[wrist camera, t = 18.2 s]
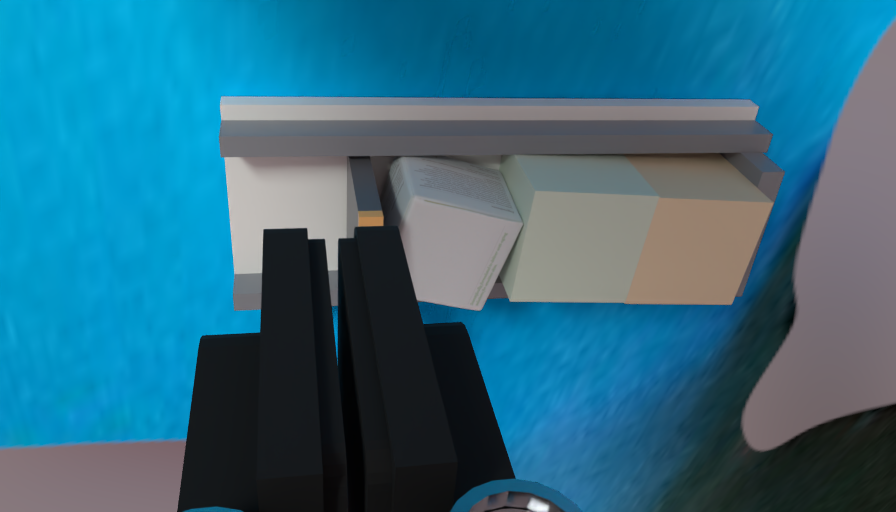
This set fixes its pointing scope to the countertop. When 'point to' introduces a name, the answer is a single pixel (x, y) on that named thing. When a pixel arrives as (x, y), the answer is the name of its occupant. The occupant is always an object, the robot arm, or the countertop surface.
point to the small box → (451, 226)
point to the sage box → (575, 227)
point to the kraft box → (696, 229)
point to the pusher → (362, 195)
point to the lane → (442, 153)
